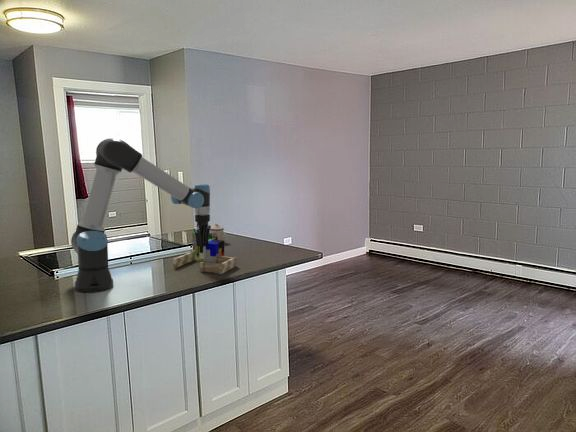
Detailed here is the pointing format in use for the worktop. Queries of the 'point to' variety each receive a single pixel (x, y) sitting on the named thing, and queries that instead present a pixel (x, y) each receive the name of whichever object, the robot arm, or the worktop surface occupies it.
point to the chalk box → (196, 243)
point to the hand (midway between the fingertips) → (202, 258)
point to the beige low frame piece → (219, 266)
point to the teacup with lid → (217, 232)
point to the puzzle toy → (213, 250)
